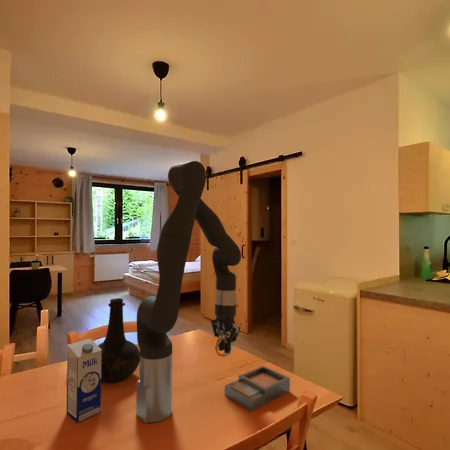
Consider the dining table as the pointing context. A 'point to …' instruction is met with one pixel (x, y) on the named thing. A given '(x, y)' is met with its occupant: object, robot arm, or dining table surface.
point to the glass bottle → (117, 348)
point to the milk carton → (83, 380)
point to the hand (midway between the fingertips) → (224, 351)
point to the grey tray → (257, 387)
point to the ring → (219, 343)
